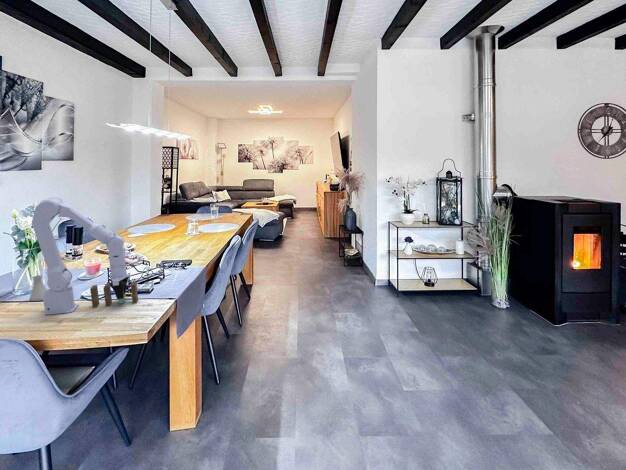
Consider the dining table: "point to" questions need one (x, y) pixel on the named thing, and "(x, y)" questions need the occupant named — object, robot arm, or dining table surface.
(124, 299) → the domino
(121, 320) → the dining table surface
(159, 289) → the dining table surface
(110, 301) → the domino
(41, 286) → the flask
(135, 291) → the domino
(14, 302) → the dining table surface
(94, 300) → the domino
